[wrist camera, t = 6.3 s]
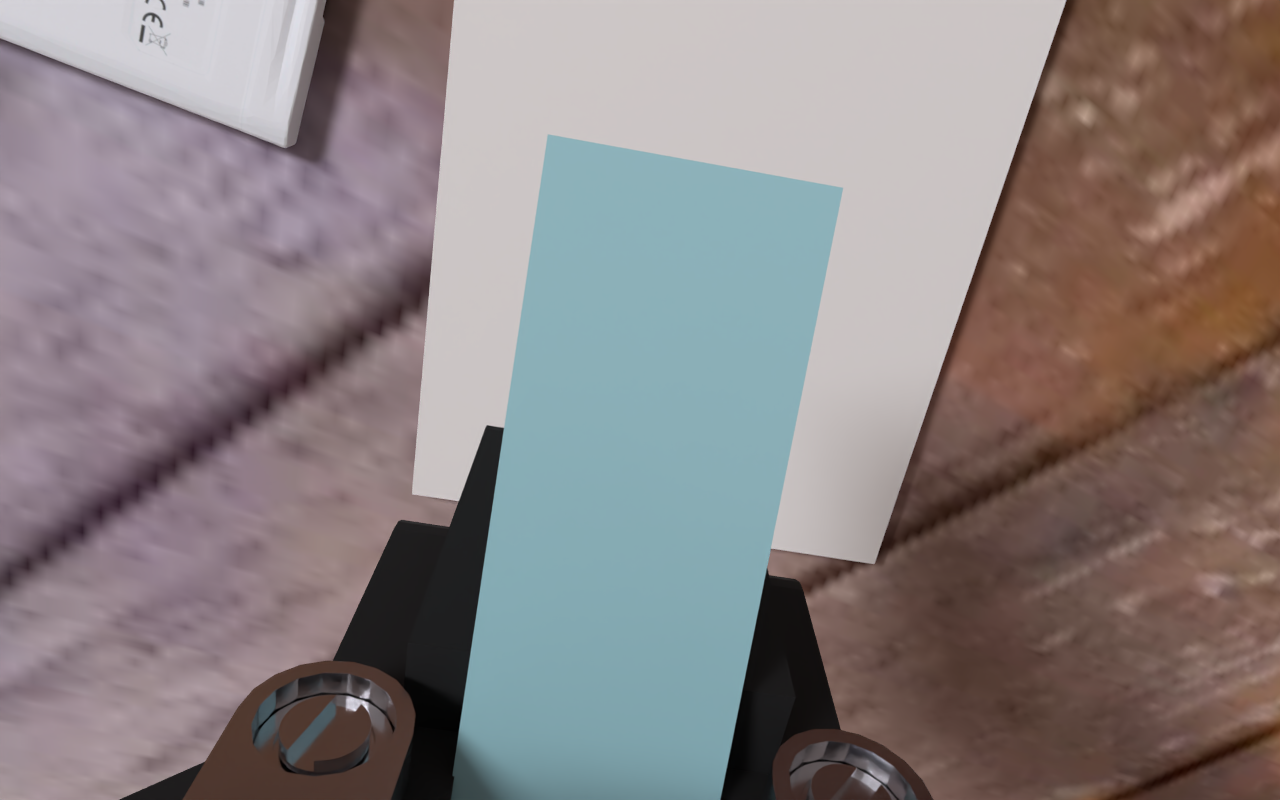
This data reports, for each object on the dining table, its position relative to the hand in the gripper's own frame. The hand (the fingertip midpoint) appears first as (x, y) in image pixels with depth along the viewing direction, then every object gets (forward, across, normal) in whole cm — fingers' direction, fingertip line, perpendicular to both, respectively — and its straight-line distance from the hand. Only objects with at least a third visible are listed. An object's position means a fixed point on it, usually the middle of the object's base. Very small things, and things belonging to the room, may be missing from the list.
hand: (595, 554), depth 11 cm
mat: (+16, -2, 0) cm, 16 cm away
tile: (+2, 0, +1) cm, 3 cm away
